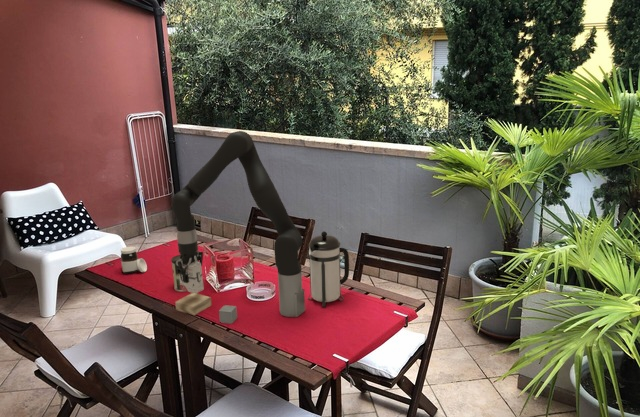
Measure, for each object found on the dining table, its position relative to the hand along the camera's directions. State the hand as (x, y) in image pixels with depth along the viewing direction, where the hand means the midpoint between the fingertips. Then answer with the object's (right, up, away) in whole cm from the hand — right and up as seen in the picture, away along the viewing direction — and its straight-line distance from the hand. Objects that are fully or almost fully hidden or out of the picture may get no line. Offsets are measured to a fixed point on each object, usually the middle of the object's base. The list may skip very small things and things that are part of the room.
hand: (191, 279), depth 206 cm
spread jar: (-39, -2, +44) cm, 59 cm away
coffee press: (+55, -9, +8) cm, 57 cm away
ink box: (0, -4, +1) cm, 5 cm away
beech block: (0, -12, +3) cm, 13 cm away
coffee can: (-8, -7, +24) cm, 26 cm away
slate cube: (+17, -14, -8) cm, 24 cm away
